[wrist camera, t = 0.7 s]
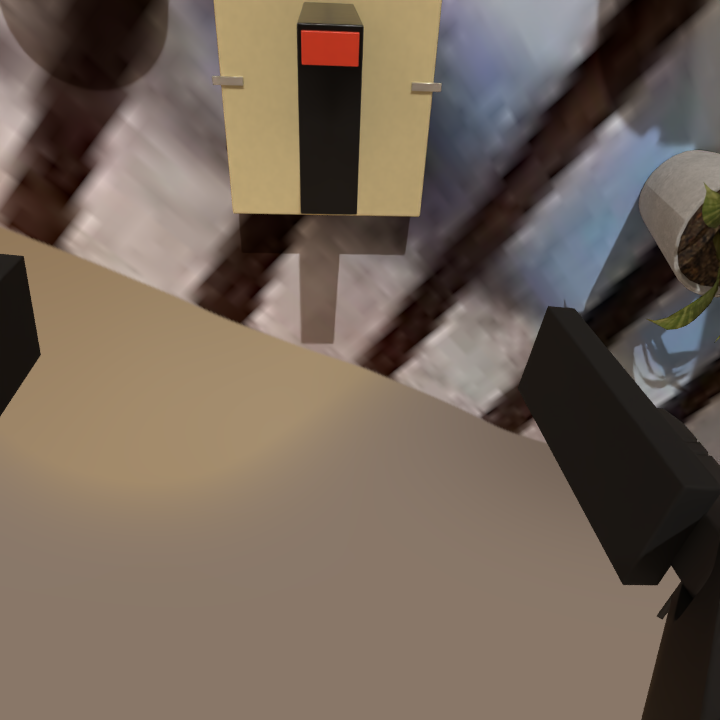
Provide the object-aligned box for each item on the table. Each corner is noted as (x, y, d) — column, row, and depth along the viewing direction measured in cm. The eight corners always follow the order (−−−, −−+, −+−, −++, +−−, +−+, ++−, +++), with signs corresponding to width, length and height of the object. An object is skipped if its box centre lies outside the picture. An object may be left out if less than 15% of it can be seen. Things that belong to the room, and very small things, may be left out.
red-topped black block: (349, 154, 29) (357, 217, 23) (305, 153, 29) (300, 216, 22) (353, 3, 26) (364, 25, 19) (303, 1, 25) (296, 23, 19)
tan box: (418, 197, 34) (426, 218, 31) (233, 193, 33) (226, 215, 31) (446, -82, 26) (460, -85, 24) (207, -94, 26) (194, -98, 23)
